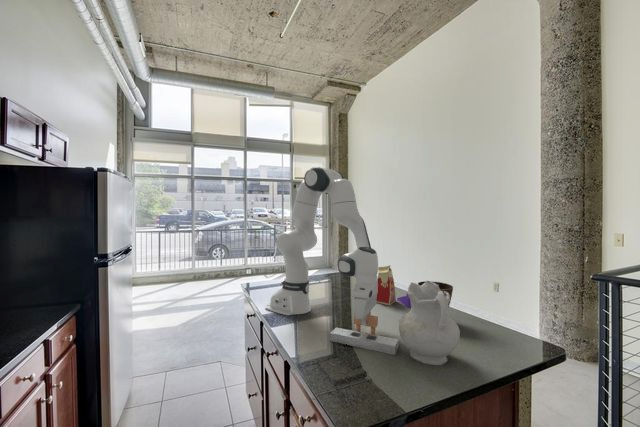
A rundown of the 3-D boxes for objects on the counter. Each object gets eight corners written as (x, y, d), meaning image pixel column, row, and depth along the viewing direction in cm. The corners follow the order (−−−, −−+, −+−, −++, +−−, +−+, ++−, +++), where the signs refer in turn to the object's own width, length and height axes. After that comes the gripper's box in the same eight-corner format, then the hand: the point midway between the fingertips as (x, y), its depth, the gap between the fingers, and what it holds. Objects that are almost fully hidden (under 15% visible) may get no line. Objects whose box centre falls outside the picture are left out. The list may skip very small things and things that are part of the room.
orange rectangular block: (353, 332, 120) (353, 315, 120) (355, 329, 123) (356, 312, 123) (375, 336, 116) (376, 318, 116) (377, 333, 119) (377, 316, 119)
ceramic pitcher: (477, 375, 92) (484, 294, 93) (423, 379, 87) (430, 293, 87) (432, 344, 113) (437, 278, 113) (386, 346, 107) (392, 277, 108)
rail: (329, 341, 112) (330, 333, 112) (335, 335, 117) (335, 327, 117) (395, 354, 102) (395, 346, 102) (398, 347, 107) (398, 339, 107)
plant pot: (415, 313, 144) (416, 280, 144) (448, 316, 141) (449, 282, 141) (419, 324, 129) (419, 287, 129) (456, 328, 126) (456, 290, 126)
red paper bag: (395, 301, 163) (396, 264, 163) (390, 305, 155) (390, 267, 155) (379, 298, 168) (380, 262, 167) (373, 302, 160) (374, 265, 160)
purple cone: (420, 307, 155) (420, 293, 154) (408, 307, 153) (408, 294, 153) (408, 300, 166) (408, 287, 166) (396, 300, 165) (397, 288, 164)
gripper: (365, 281, 130) (365, 313, 130) (350, 293, 111) (350, 330, 112) (380, 283, 127) (379, 316, 128) (367, 295, 109) (366, 333, 109)
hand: (365, 322), depth 119 cm, fingers closed on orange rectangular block, 3 cm apart
